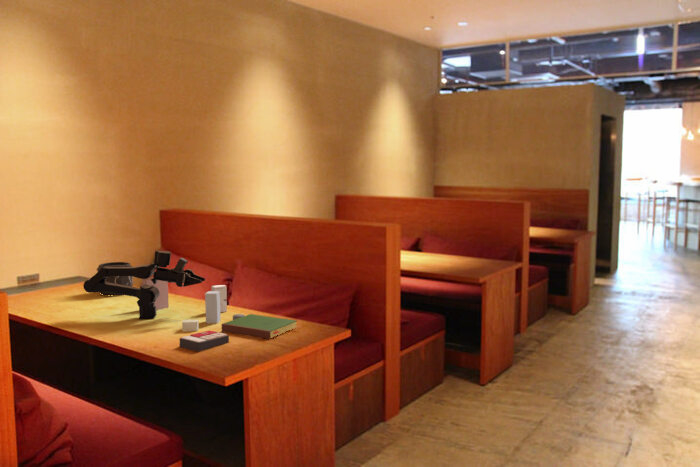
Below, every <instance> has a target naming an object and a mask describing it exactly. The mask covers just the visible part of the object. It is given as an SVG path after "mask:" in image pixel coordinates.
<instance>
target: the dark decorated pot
mask: <svg viewBox="0 0 700 467" xmlns="http://www.w3.org/2000/svg"><path fill="white" fill-rule="evenodd" d="M103 267H133V265H132V264H131V263H130V262H128V261H127V262H125V261H114V262H113V261H112V262H110V261H109V262H105V263H101V264H99V265H98V267H97V268H96V272H98V271H99V270H100V269H101V268H103ZM105 281H107V282H109V283H114V284H120V285H126V286H133V285H134V277H133V276H108V277H107V278H106V279H105ZM133 287H134V286H133ZM100 293H101V294H103V295H121V294H115V293H109V292H99V294H100ZM103 295H102V296H103ZM121 296H122V295H121Z"/></svg>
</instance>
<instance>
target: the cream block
mask: <svg viewBox="0 0 700 467" xmlns="http://www.w3.org/2000/svg"><path fill="white" fill-rule="evenodd" d="M199 321H200V320H199V319H198V318H197V319H196V318H195V319H183V320H182V321H181V324H182V330H181V331H182V332H184V333H185V332H198V331H199V329H200V325H199Z"/></svg>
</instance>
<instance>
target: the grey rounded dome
mask: <svg viewBox="0 0 700 467" xmlns="http://www.w3.org/2000/svg"><path fill="white" fill-rule="evenodd" d="M243 316H246V315H245V314H242V313H240V314H239V313H238V314H237V313H236V314H233V315H232V320H235V319H237V318H240V317H243Z"/></svg>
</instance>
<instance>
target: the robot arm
mask: <svg viewBox="0 0 700 467" xmlns="http://www.w3.org/2000/svg"><path fill="white" fill-rule="evenodd" d="M171 256H172V251H168V250H155V252H154V260H153V262H152V263H147V264H143V265H137V266H132V267H103V268H101V269H100V270H99V271H96V273H95V274H94V275H93V276H92V277H90V278H88V279H87V280H85V281H84V282H83V283H82V284H83V285H82V286H83V290H84V291H85V292H86V293H89V294H90V293H93V294H94V293H100V292H109V293H115V294H121V296H129V297H132V298H133V297H134V298H137V299H138V300H137V301H136V304H137V306H138V312H139V313H138V315H139V317H138V320H152V319H155V317H156V316H157V310H156V306H155V303H154V302H155V301H156V298H158V297H159V290H158V288H156V287H153V286H154V285H152V286H151V285H147V284H144V285H142V284H141V285H140V286H139V287H137V286H126V285H120V284H114V283H109V282H107V281H105V279H106V278H107V277H108V276H133V278H136V279H141V280H142V279H147V278H153V279H151V281H152V282H153V283H154V284H156V283H157V280H160V281H166V282H168V283H170V284H171V283H173V284H175V285H176V286H177V287H180V288H183V287H185V288H186V287H188V286H189V287H190V286H194V285H198V284H202V282H205V281H206V278H205V277H202V276H201V275H199V274H196V273H195V272H194V271H193V269H191V268H190V269H189V268H187V269H185V266H186V265H187V263H188V262H189V260H187V259H186V258H184V257H180V258H179V259H178V260H177V262H176V264H175V267H174V268H167V267H168V266H170V264H171Z"/></svg>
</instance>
